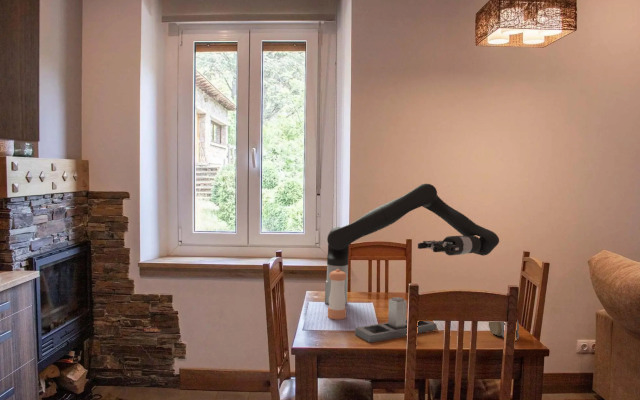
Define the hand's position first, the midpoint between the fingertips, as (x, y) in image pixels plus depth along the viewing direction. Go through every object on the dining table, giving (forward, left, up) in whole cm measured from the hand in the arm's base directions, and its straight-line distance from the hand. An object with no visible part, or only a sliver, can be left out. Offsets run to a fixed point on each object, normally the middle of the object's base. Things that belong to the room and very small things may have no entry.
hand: (425, 247), depth 181 cm
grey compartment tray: (-9, -12, -30) cm, 33 cm away
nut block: (-9, -12, -30) cm, 33 cm away
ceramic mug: (+29, -2, -30) cm, 42 cm away
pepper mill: (-34, -1, -30) cm, 45 cm away
